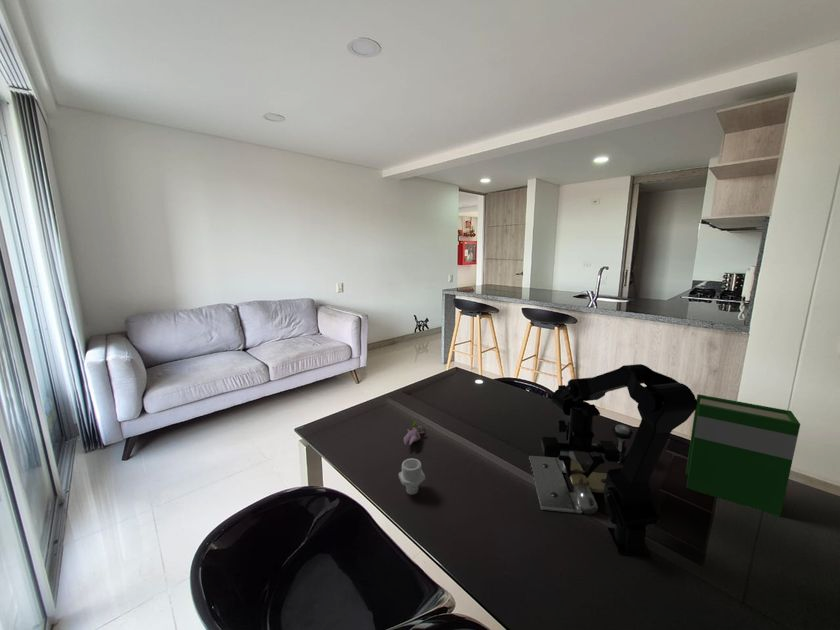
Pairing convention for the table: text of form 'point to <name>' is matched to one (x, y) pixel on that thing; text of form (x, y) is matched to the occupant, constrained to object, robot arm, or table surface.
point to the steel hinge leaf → (560, 487)
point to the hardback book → (742, 452)
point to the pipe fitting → (411, 475)
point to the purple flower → (413, 434)
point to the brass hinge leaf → (592, 481)
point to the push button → (621, 438)
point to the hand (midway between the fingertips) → (577, 476)
